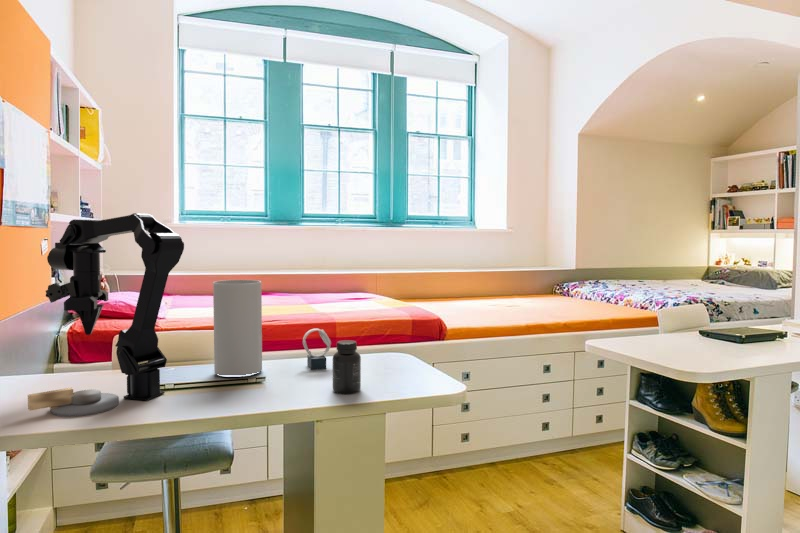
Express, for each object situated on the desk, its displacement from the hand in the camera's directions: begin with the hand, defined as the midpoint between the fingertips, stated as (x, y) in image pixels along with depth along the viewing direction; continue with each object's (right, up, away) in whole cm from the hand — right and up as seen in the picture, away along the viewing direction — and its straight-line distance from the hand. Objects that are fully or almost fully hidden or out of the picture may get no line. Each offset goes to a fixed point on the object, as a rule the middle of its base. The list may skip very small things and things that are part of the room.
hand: (88, 334), depth 137 cm
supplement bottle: (+63, -14, 0) cm, 65 cm away
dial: (+5, -13, -17) cm, 22 cm away
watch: (+53, -12, +23) cm, 59 cm away
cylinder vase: (+32, -13, +15) cm, 38 cm away
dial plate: (+7, -14, -14) cm, 21 cm away
